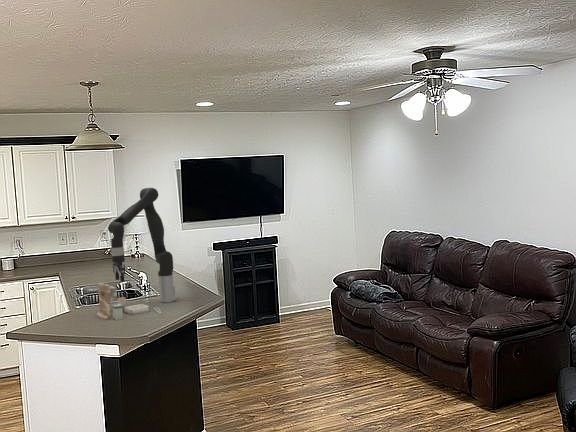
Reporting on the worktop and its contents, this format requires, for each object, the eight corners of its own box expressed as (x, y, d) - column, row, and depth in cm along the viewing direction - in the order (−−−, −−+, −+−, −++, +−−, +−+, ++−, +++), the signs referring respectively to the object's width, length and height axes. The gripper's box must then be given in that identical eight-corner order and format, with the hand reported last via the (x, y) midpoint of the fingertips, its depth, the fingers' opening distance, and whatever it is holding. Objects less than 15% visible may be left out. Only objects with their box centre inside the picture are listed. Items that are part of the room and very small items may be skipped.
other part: (120, 317, 358) (119, 304, 357) (123, 318, 354) (121, 305, 354) (113, 318, 355) (112, 305, 355) (116, 320, 352) (115, 306, 351)
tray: (142, 308, 379) (141, 304, 379) (149, 311, 369) (149, 306, 369) (124, 312, 372) (123, 307, 372) (131, 314, 363) (131, 310, 362)
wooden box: (111, 312, 373) (109, 281, 372) (121, 316, 360) (118, 284, 359) (96, 315, 367) (94, 283, 366) (105, 319, 354) (103, 286, 353)
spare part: (124, 309, 380) (123, 297, 379) (126, 310, 376) (125, 297, 376) (118, 310, 377) (117, 298, 377) (120, 311, 374) (119, 298, 373)
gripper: (128, 254, 371) (130, 280, 372) (119, 253, 382) (121, 278, 383) (116, 256, 367) (118, 282, 368) (108, 254, 378) (109, 280, 379)
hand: (119, 280), depth 376 cm, fingers open, 8 cm apart
